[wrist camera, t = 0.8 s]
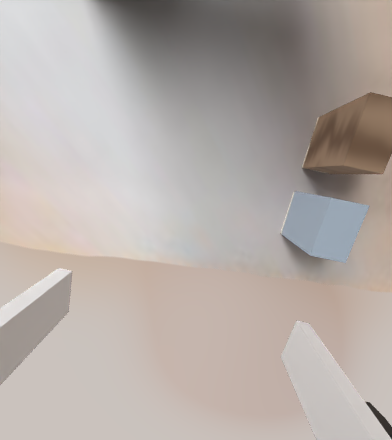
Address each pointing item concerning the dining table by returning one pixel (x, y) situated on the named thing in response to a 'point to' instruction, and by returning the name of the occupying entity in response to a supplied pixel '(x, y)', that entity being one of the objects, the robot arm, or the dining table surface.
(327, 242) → the slate block
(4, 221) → the dining table surface
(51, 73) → the dining table surface
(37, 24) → the dining table surface
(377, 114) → the walnut block
